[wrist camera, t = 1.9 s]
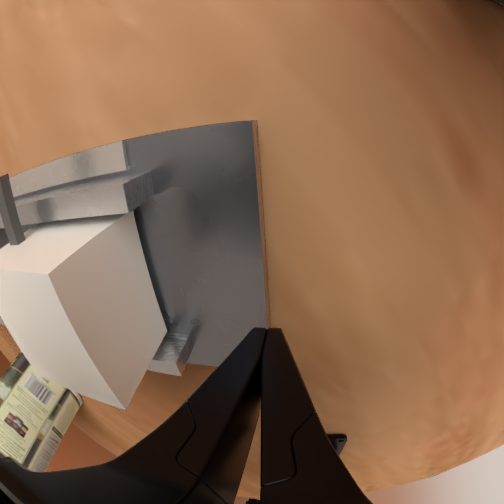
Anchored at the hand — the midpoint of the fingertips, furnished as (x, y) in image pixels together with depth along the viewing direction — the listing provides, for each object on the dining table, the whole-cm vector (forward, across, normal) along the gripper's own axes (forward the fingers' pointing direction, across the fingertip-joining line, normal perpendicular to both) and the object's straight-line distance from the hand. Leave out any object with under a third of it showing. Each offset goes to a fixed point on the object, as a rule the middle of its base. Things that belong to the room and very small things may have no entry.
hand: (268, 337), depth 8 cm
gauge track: (+4, +14, 0) cm, 15 cm away
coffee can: (+5, +28, +17) cm, 33 cm away
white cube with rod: (+3, +13, -2) cm, 13 cm away
